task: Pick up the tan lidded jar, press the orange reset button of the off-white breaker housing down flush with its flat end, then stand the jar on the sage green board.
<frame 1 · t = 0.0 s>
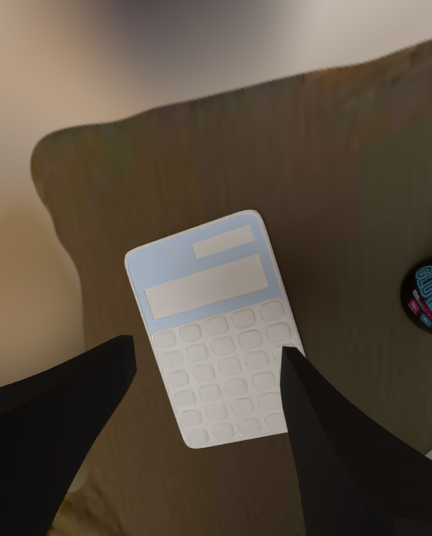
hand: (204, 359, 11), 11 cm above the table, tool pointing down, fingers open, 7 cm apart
calculator: (222, 329, 22), on the table
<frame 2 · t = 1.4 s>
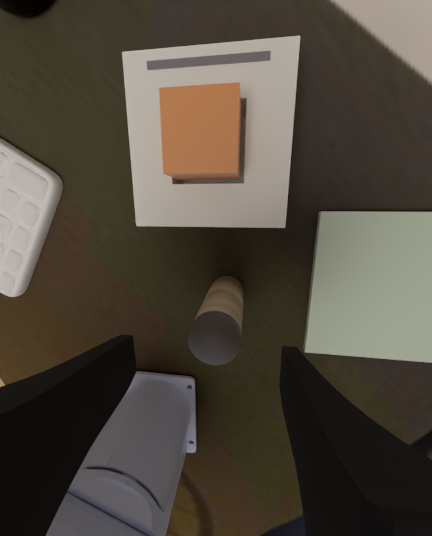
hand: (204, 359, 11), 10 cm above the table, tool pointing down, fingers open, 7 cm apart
reset button: (204, 138, 13), point 5 cm above the table, slide at 2.2 cm
sage board: (374, 287, 19), on the table
tan lidded jar: (226, 292, 21), on the table
breaker housing: (216, 157, 18), on the table
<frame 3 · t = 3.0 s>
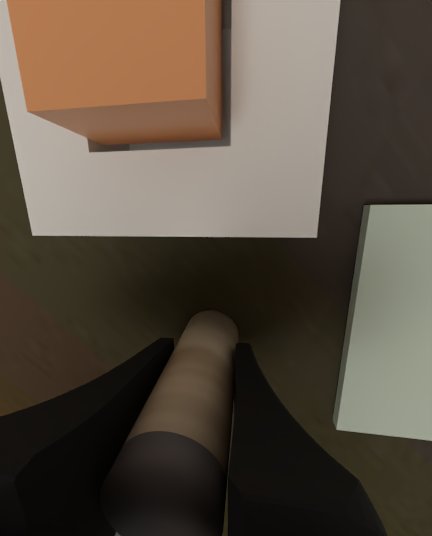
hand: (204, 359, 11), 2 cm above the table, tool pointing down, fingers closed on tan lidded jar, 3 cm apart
reset button: (134, 36, 6), point 5 cm above the table, slide at 2.2 cm
tan lidded jar: (212, 334, 13), on the table, touching gripper
breaker housing: (186, 115, 10), on the table
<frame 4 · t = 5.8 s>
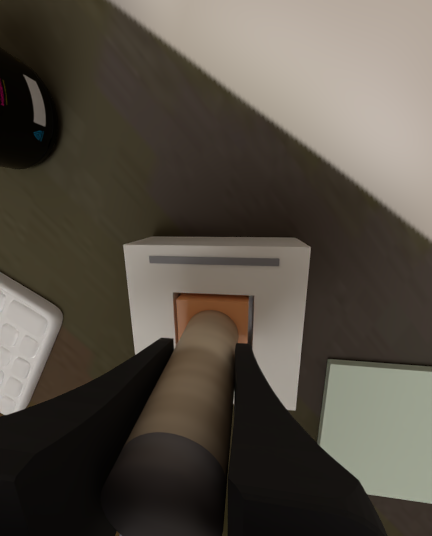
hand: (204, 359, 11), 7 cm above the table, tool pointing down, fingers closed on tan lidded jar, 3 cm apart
reset button: (215, 322, 14), point 3 cm above the table, slide at 0.1 cm, touching tan lidded jar
sage board: (386, 430, 18), on the table
tan lidded jar: (212, 334, 13), point 4 cm above the table, touching gripper, reset button
breaker housing: (220, 303, 17), on the table
supplement container: (21, 120, 16), on the table
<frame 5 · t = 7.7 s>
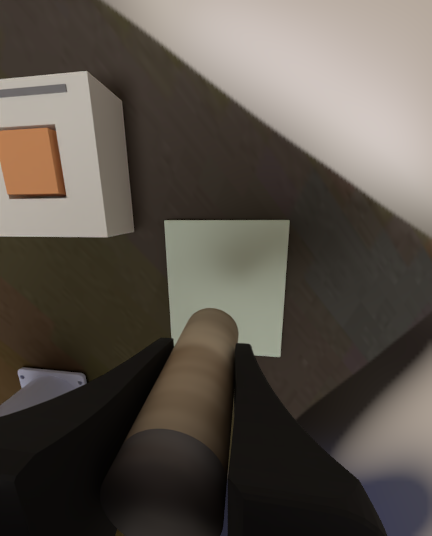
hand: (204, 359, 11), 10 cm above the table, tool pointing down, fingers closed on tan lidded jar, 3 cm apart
reset button: (44, 166, 17), point 3 cm above the table, slide at 0.1 cm
sage board: (225, 289, 20), on the table
tan lidded jar: (211, 332, 13), point 8 cm above the table, touching gripper
breaker housing: (73, 172, 20), on the table
when the fingers open (3 cm above the table, at t = 9.5 s): tan lidded jar stays where it is, resting on sage board.
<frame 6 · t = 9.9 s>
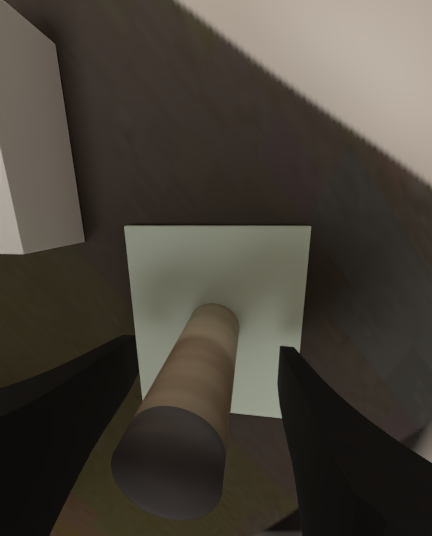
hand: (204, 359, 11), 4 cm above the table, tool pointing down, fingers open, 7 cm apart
sage board: (215, 323, 14), on the table
tan lidded jar: (213, 326, 14), point 1 cm above the table, touching sage board
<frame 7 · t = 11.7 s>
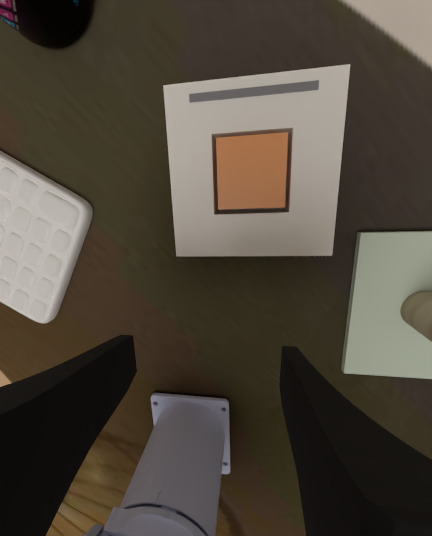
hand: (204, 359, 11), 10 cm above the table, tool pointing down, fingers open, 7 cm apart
reset button: (250, 176, 15), point 3 cm above the table, slide at 0.1 cm
sage board: (416, 307, 18), on the table
tan lidded jar: (422, 309, 18), point 1 cm above the table, touching sage board
breaker housing: (250, 181, 18), on the table
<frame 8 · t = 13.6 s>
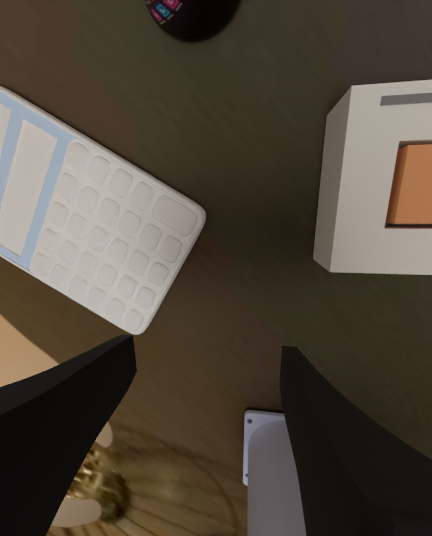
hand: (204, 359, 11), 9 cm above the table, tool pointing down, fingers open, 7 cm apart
reset button: (423, 187, 14), point 3 cm above the table, slide at 0.1 cm
breaker housing: (393, 191, 16), on the table
calculator: (83, 220, 21), on the table
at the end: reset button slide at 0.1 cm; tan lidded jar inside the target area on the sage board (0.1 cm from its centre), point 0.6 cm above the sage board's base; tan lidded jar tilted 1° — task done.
